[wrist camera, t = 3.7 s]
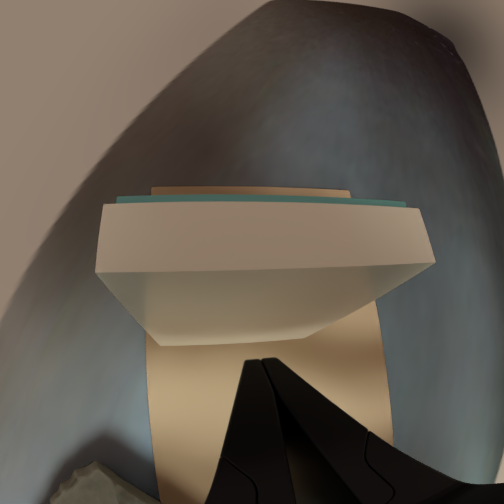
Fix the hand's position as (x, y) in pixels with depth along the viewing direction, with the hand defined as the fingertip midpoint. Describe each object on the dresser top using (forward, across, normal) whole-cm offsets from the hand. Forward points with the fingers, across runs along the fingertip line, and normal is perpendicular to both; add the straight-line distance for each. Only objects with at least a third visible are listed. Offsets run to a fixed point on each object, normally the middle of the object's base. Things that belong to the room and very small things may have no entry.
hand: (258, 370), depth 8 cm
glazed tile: (+6, 0, +3) cm, 7 cm away
